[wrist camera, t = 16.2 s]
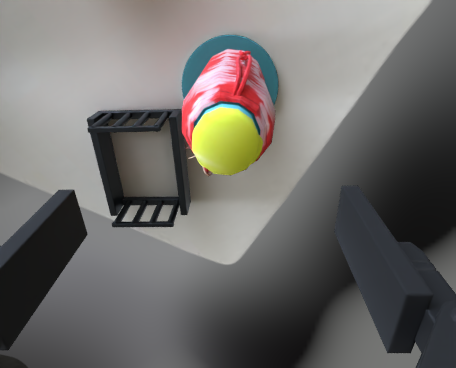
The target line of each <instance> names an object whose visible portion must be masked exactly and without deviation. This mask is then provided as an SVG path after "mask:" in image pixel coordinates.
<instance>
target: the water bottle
mask: <svg viewBox="0 0 456 368" xmlns="http://www.w3.org/2000/svg"><path fill="white" fill-rule="evenodd" d="M250 54H251V52H250V51H241V50H233V49H227V50H225V51H223V52H221V53H218V54H216V55H214V56H213V57H212V58H211V59H210V61H209V62H208V64H207V65H206V67H205V68H204V70H203V71H202V73H201V74H200V76H199V77H198V79H197V81H196V82H195V84H194V85H193V87H192V88H191V90H190V91H189V93H188V94H187V96H186V97H185V99H184V101H183V107H182V134H183V135H184V137H185V139H186V141H187V143H188V145H189V147H186V148H185V149H191V150H192V152H193V153H194V154H195V155H194V156H192V157H190V158H193V157H196V158H197V160H198V162H199V164H200V165H202V166H203V170H204V173H205V174H206V175H207V176H210V175H211V174H213V173H214V174H222V175H233V174H235V173H238V172H241V171H243V170H246V169H247V168H248V167H249V166H250V165H251V164H252V163H254V162H255V161H257V160H258V159H259V158H260V157H261V155H262V154H263V153H264V152H265V150H266V149H267V148H268V147H269V145H270V144H271V143H272V136H273V130H274V123H275V108H274V105H273V102H272V99H271V97H270V94H269V92H268V89H267V86H266V84H265V79H264V77H263V74H262V71H261V69H260V66H259V64H258V62H257V61H256V60H255V59H254V58H253V57H251V55H250ZM188 159H189V158H188Z"/></svg>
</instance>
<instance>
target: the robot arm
mask: <svg viewBox="0 0 456 368" xmlns="http://www.w3.org/2000/svg"><path fill="white" fill-rule="evenodd" d="M334 232H335V235H336V237H337V239H338V242H339V244H340V246H341V248H342V251H343V253H344V255H345V257H346V260H347V262H348V264H349V266H350V269H351V271H352V273H353V276H354V278H355V280H356V282H357V285H358V287H359V289H360V291H361V294H362V296H363V299H364V301H365V303H366V305H367V307H368V310H369V312H370V314H371V316H372V319H373V321H374V323H375V326H376V328H377V330H378V332H379V335H380V337H381V339H382V342H383V344H384V346H385V348H386V351H387V353H411V351H412V349H413V346H414V343H415V342H416V344H417V346H418V347H419V349H420V351H421V353H422V354H421V357H420V359H419V361H418V363H417V366H416V368H456V294H455V292H454V291H453V290H452V288H451V287H450V286H449V285H448V283H447V282H446V281H445V279H444V278H443V277H442V276H441V274H440V273H439V272H438V271H436V268H435V267H434V265H433V264H432V263H430V260H429V259H428V258H427V256H426V255H425V254H424V252H423V251H422V250H421V249H419V248H418V247H416V246H415V245H414V244H412V243H411V242H397V241H396V240H395V238H394V237H393V235H392V234H391V233H390V231H389V230H388V228H387V227H386V225H385V224H384V223H383V221H382V220H381V218H380V217H379V215H378V214H377V212H376V211H375V209H374V208H373V207H372V205H371V204H370V202H369V201H368V200H367V198H366V197H365V195H364V194H363V192H362V191H361V189H360V188H359V186H342V187H341V193H340V200H339V206H338V213H337V219H336V225H335V231H334ZM86 236H87V231H86V228H85V224H84V221H83V218H82V214H81V211H80V208H79V204H78V201H77V198H76V195H75V191H74V190H58V191H57V192H56V193H55V194H54V195H53V196H52V197H51V198H50V199H49V200H48V201H47V202H46V203H45V204H44V205H43V206H42V207H41V208H40V209H39V210H38V211H37V212H36V213H35V214H34V215H33V216H32V217H31V218H30V219H29V220H28V221H27V222H26V223H25V224H24V225H23V226H22V227H21V228H20V229H19V230H18V231H17V232H16V233H15V234H14V235H13V236H12V237H11V238H10V239H9V240H8V241H7V242H5V244H3V245H2V246H0V350H9V349H10V347H11V346H12V344H13V343H14V341H15V340H16V338H17V337H18V335H19V334H20V332H21V331H22V330H23V328H24V326H25V325H26V324H27V322H28V321H29V319H30V317H31V316H32V315H33V313H34V312H35V311H36V309H37V308H38V306H39V305H40V303H41V302H42V300H43V299H44V297H45V296H46V294H47V293H48V291H49V290H50V288H51V287H52V286H53V284H54V283H55V281H56V280H57V278H58V277H59V275H60V274H61V272H62V271H63V270H64V268H65V267H66V265H67V264H68V262H69V261H70V259H71V258H72V256H73V255H74V253H75V252H76V250H77V249H78V248H79V246H80V245H81V243H82V242H83V240H84V239H85V237H86Z"/></svg>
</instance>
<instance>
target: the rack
mask: <svg viewBox="0 0 456 368" xmlns="http://www.w3.org/2000/svg"><path fill="white" fill-rule="evenodd" d="M149 118H159V119H158V121H157V122H156V123H155V124H154V126H143V125H144V123H145V122H146V121H147V120H148V119H149ZM168 118H169V123H170V131H171V139H172V147H173V155H174V163H175V171H176V179H177V187H178V195H179V197H124V195H123V190H122V185H121V181H120V176H119V172H118V167H117V163H116V158H115V154H114V149H113V145H112V140H111V136H110V132H114V133H115V132H148V131H156V132H158V131H160V130H161V127H162V126H163V125H164V123H165V122H166V120H167V119H168ZM111 119H119V120H118V121H117V122H116V123H115V124H114V125H112V126H108V122H109V121H110V120H111ZM130 119H138V120H137V121H136V122H135V123H134V124H133V126H124V125H125V124H126V123H127V122H128V121H129V120H130ZM87 122H88V126H89V128H88V132H89V133H90V134H91V138H92V142H93V146H94V150H95V154H96V158H97V162H98V166H99V170H100V174H101V178H102V182H103V186H104V190H105V194H106V198H107V202H108V206H109V210H110V214H111V216H117V215H118V216H117V218H116V219H115V221H114V222H113V223H112V227H173V226H174V221H175V218H176V215H177V212H178V209H179V205H180V211H181V215H187V214H188V210H189V207H190V203H191V198H190V189H189V179H188V170H187V160H186V150H185V141H184V135H183V134H182V112H181V109H167V110H125V111H98V112H97V113H95V114H94V115H92V116H91V117H89V118H88V119H87ZM123 205H124V206H123ZM131 205H141V206H140V207H139V209H138V211H137V213H136V215H135V217H134V219H133V221H132V222H121V221H122V220H123V218H124V216H125V214H126V213H127V211H128V209H129V207H130V206H131ZM147 205H157V206H156V208H155V210H154V213H153V215H152V217H151V219H150V222H139V221H140V219H141V217H142V215H143V213H144V211H145V209H146V206H147ZM163 205H173V208H172V211H171V214H170V217H169V220H168V221H157V219H158V216H159V214H160V211H161V209H162V206H163ZM122 207H123V208H122ZM121 208H122V209H121ZM120 210H121V211H120ZM119 211H120V213H119ZM118 213H119V214H118Z"/></svg>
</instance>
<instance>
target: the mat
mask: <svg viewBox="0 0 456 368" xmlns="http://www.w3.org/2000/svg"><path fill="white" fill-rule="evenodd" d="M227 49H233V50H241V51H250V52H251V54H250V55H251V57H253V58H254V59H255V60H256V61H257V62H258V64H259V66H260V69H261V71H262V74H263V77H264V79H265V84H266V86H267V89H268V92H269V94H270V97H271V99H272V102H273V105H274V104H275V101H276V98H277V94H278V76H277V72H276V68H275V66H274V63H273V61H272V60H271V58H270V56H269V55H268V54H267V52H266V51H265V50H264V49H263V48H262V47H261V46H260V45H258V44H257V43H255V42H254V41H252V40H250V39H248V38H245V37H242V36H237V35H223V36H218V37H215V38H212V39H210V40H208V41H206V42H205V43H203V44H202V45H201V46H199V47H198V48H197V49H196V50H195V51H194V52H193V54H192V55H191V56H190V58H189V60H188V62H187V63H186V66H185V69H184V72H183V77H182V91H183V97H184V99H185V97H186V96H187V94H188V93H189V91H190V90H191V88H192V87H193V85H194V84H195V82H196V81H197V79H198V77H199V76H200V74H201V73H202V71H203V70H204V68H205V67H206V65H207V64H208V62H209V61H210V59H211V58H212V57H213V56H214V55H216V54H218V53H221V52H223V51H225V50H227Z"/></svg>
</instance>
